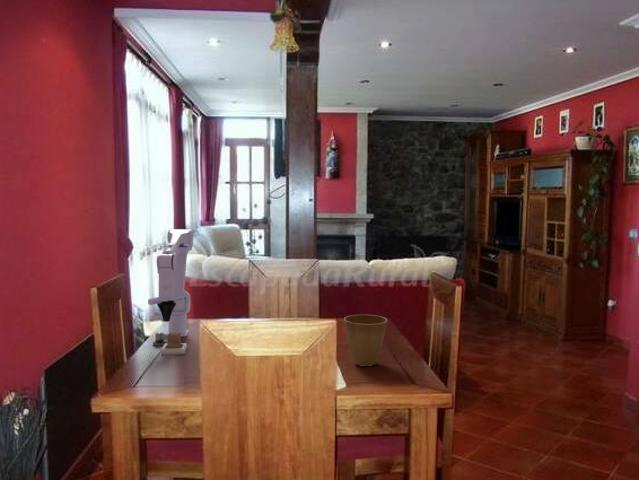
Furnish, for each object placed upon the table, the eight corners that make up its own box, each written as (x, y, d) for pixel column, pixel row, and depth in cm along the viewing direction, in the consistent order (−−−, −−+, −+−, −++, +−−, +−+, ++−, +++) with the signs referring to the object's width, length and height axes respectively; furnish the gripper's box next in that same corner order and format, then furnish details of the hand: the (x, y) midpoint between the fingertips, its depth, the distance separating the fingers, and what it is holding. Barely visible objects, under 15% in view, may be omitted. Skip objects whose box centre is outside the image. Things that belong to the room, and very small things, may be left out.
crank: (154, 342, 201) (154, 333, 200) (156, 340, 204) (156, 331, 204) (178, 342, 201) (178, 333, 201) (180, 340, 205) (180, 331, 204)
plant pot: (349, 355, 193) (350, 312, 192) (389, 360, 188) (391, 316, 187) (337, 367, 179) (338, 321, 178) (380, 372, 174) (381, 325, 173)
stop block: (169, 348, 195) (169, 332, 195) (180, 348, 196) (180, 332, 195) (167, 351, 191) (167, 335, 191) (178, 351, 192) (179, 335, 191)
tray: (164, 348, 197) (164, 343, 197) (186, 348, 198) (186, 343, 198) (161, 354, 189) (161, 349, 189) (183, 354, 190) (183, 349, 190)
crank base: (154, 342, 206) (154, 332, 205) (180, 341, 207) (180, 331, 207) (151, 346, 200) (151, 336, 199) (178, 346, 201) (178, 335, 201)
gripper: (155, 288, 190) (155, 326, 191) (188, 284, 201) (188, 319, 202) (144, 286, 194) (144, 322, 195) (177, 282, 205) (177, 317, 206)
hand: (166, 321), depth 199 cm, fingers closed
